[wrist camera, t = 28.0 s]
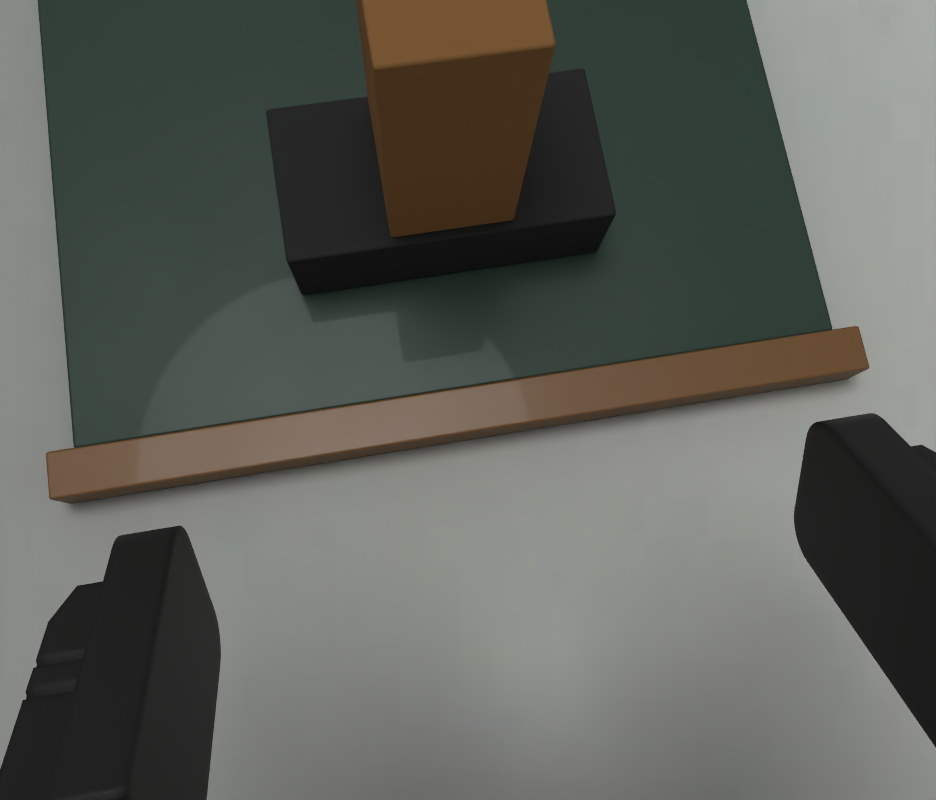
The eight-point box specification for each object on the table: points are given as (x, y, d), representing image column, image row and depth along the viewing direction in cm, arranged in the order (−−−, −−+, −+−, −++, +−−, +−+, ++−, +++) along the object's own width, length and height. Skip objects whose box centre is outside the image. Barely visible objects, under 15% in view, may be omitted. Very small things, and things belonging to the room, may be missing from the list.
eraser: (301, 296, 23) (215, 100, 14) (281, 157, 24) (187, -119, 14) (597, 252, 24) (708, 36, 14) (569, 118, 24) (657, -169, 15)
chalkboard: (68, 504, 22) (48, 499, 21) (22, -70, 26) (3, -101, 25) (849, 378, 24) (870, 368, 23) (711, -146, 28) (724, -178, 26)
